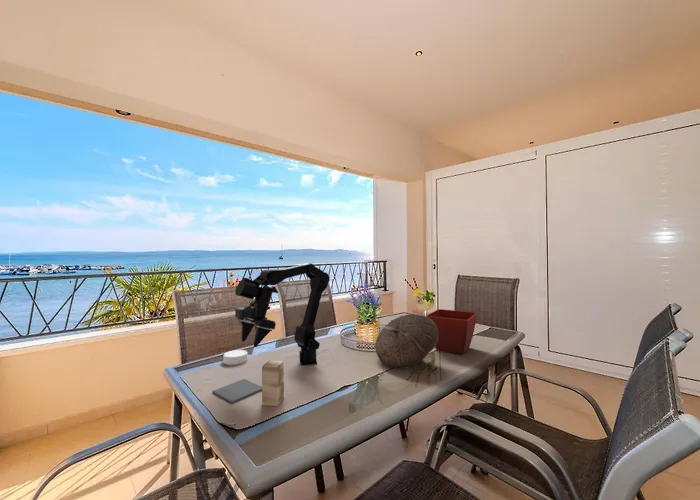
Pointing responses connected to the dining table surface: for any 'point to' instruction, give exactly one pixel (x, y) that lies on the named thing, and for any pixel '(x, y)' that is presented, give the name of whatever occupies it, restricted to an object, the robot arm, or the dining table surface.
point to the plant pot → (454, 329)
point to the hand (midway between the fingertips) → (248, 344)
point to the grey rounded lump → (406, 341)
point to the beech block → (272, 383)
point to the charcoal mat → (237, 390)
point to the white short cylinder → (235, 357)
